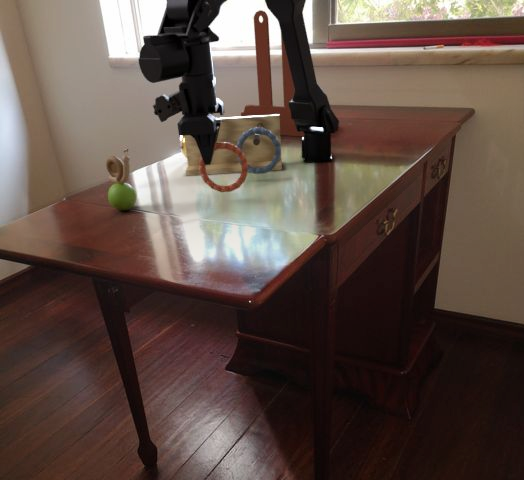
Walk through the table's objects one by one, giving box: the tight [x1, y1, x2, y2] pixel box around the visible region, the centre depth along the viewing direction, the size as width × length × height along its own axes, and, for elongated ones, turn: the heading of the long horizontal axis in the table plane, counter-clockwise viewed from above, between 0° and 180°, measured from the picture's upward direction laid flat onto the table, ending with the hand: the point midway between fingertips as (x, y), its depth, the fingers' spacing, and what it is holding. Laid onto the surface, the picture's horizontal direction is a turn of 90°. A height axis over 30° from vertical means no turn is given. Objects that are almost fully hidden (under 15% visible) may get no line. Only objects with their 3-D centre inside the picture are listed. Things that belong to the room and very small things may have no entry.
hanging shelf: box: [240, 10, 304, 138], centre depth 152 cm, size 24×13×30 cm, turn 58°
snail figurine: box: [105, 148, 137, 212], centre depth 107 cm, size 5×6×12 cm
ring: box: [179, 135, 187, 159], centre depth 137 cm, size 7×3×8 cm, turn 143°
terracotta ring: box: [199, 142, 249, 193], centre depth 107 cm, size 9×1×9 cm, turn 87°
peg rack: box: [184, 114, 283, 176], centre depth 122 cm, size 22×17×11 cm
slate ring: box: [237, 128, 282, 175], centre depth 117 cm, size 9×1×9 cm, turn 88°
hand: (208, 163), depth 106 cm, fingers closed on terracotta ring, 1 cm apart
